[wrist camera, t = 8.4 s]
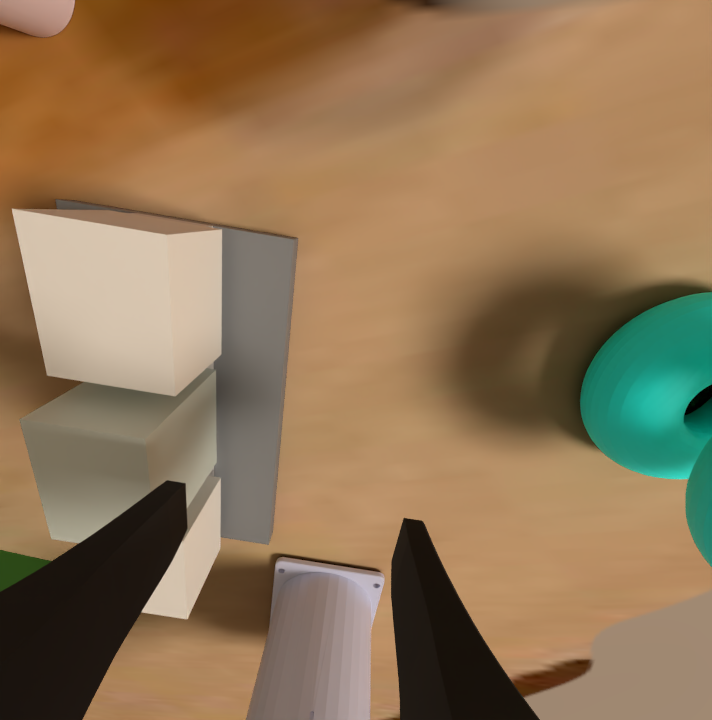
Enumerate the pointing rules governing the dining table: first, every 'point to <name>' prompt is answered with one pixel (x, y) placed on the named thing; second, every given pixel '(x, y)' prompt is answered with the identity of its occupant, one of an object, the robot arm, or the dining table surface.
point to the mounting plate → (248, 371)
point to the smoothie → (36, 16)
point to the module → (117, 450)
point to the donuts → (658, 402)
